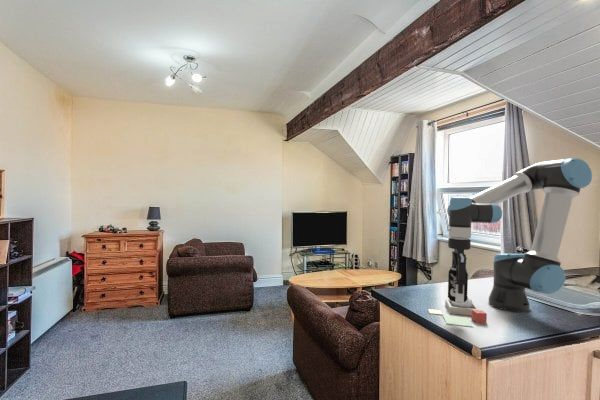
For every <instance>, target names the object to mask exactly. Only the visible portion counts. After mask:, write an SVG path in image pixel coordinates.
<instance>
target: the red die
mask: <svg viewBox="0 0 600 400" xmlns="http://www.w3.org/2000/svg"><path fill="white" fill-rule="evenodd" d="M487 316H488V314H487V312H486V311H484V310H482V309H479V310H472V316H471V320H473V321H474V322H475V323H476V324H487V318H488V317H487Z"/></svg>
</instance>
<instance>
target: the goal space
mask: <svg viewBox="0 0 600 400" xmlns="http://www.w3.org/2000/svg"><path fill="white" fill-rule="evenodd" d="M442 318H443V320H444V322H445V324H446V325H451V326H460V327H468V328H474V325H473V323H472V322H471V319H469V317H466V316H455V315H447V314H443V315H442Z"/></svg>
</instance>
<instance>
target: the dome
mask: <svg viewBox="0 0 600 400" xmlns="http://www.w3.org/2000/svg"><path fill="white" fill-rule="evenodd" d="M472 302H473V299H471V298H469V297H468V295H467V300H466V301H465V302H464V303H463V302H462V303H461V302H454V301H452V305H454V306H457V307H462V308H471V307H472Z"/></svg>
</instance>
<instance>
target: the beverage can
mask: <svg viewBox="0 0 600 400" xmlns="http://www.w3.org/2000/svg"><path fill="white" fill-rule="evenodd" d="M447 276H448V277H447V278H448V280H447V282H448V284H447V299H450V300H451V301H454V302H456V301H455V294H456V284H455V282H457V277H456V268H454V267H452V266H450V267H449V270H448V275H447ZM468 277H469V274H468V272H467V268H466V284H464V302H465V301H466V300H467V296H468V283H469V281H468V280H469V278H468ZM460 281H462V280H460ZM461 303H462V302H461Z"/></svg>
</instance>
